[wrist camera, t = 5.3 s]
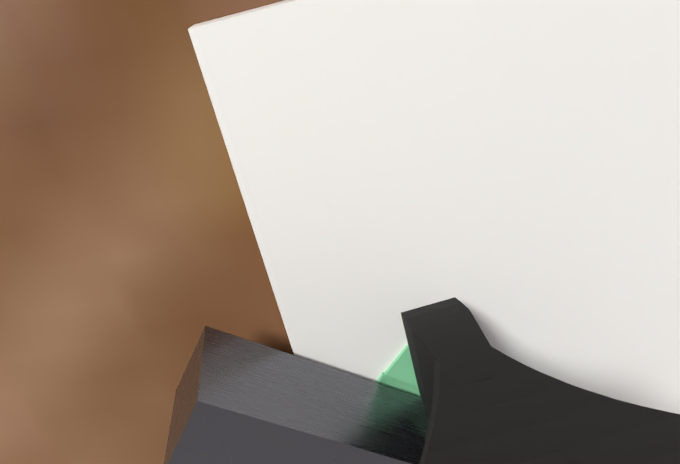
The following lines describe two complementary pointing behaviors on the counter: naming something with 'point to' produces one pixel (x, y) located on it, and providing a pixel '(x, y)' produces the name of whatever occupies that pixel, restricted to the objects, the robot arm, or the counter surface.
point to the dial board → (464, 178)
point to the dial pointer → (286, 411)
